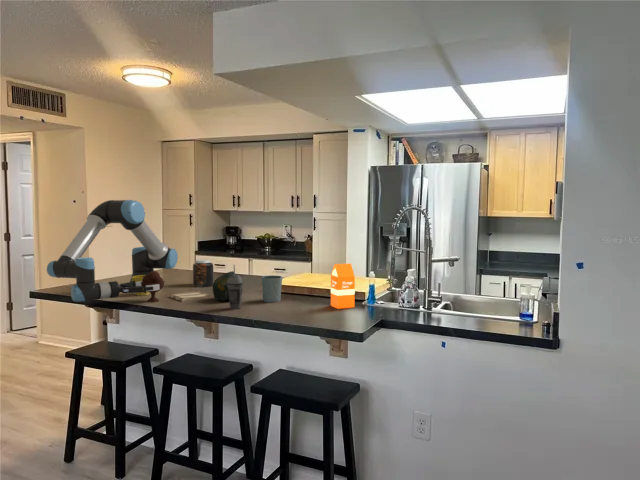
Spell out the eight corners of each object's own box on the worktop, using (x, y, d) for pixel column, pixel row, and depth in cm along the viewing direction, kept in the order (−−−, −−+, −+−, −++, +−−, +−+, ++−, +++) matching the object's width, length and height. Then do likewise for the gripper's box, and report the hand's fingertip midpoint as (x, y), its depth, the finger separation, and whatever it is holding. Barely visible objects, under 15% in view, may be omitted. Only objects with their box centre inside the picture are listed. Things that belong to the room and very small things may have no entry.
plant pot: (127, 295, 252) (127, 277, 252) (142, 292, 262) (141, 274, 261) (143, 297, 248) (143, 278, 248) (157, 293, 258) (157, 275, 257)
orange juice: (330, 305, 229) (330, 263, 227) (347, 304, 232) (347, 262, 231) (337, 308, 222) (337, 265, 220) (354, 307, 225) (355, 264, 224)
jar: (210, 287, 279) (210, 261, 278) (190, 287, 279) (190, 261, 278) (215, 283, 290) (215, 259, 289) (196, 283, 291) (195, 258, 290)
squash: (201, 289, 239) (218, 268, 235) (220, 286, 253) (236, 266, 248) (219, 310, 235) (236, 289, 230) (237, 306, 249) (253, 285, 244)
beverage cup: (229, 310, 217) (229, 266, 216) (225, 307, 224) (224, 264, 222) (245, 308, 221) (245, 265, 219) (240, 305, 227) (240, 263, 226)
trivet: (169, 296, 249) (169, 294, 249) (197, 293, 259) (196, 290, 258) (182, 301, 237) (181, 298, 237) (210, 297, 247) (209, 294, 247)
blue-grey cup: (257, 300, 240) (257, 276, 239) (273, 297, 247) (272, 274, 246) (271, 303, 233) (271, 278, 232) (286, 300, 240) (286, 276, 239)
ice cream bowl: (168, 299, 243) (167, 269, 242) (158, 303, 232) (158, 272, 231) (147, 298, 245) (147, 269, 243) (137, 303, 233) (136, 272, 232)
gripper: (101, 294, 234) (145, 289, 248) (117, 302, 215) (163, 296, 229) (100, 278, 234) (144, 274, 247) (116, 285, 215) (163, 280, 228)
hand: (154, 285), depth 238 cm, fingers open, 13 cm apart
